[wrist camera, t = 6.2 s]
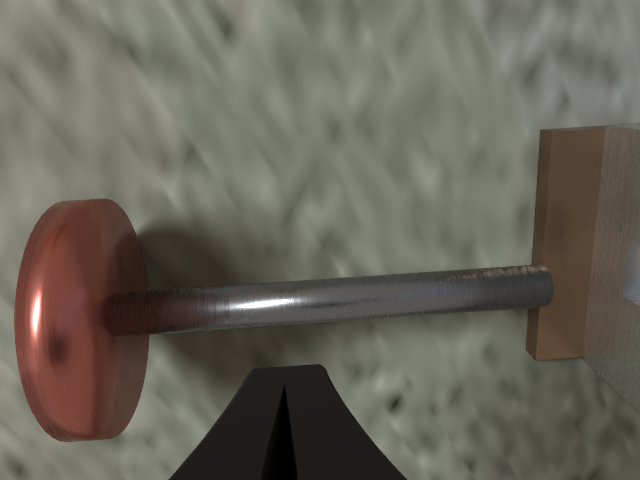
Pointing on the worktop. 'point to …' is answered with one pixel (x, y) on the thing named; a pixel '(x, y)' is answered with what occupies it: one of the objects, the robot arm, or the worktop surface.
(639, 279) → the eye bracket
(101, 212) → the red wheel with axle
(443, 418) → the worktop surface
